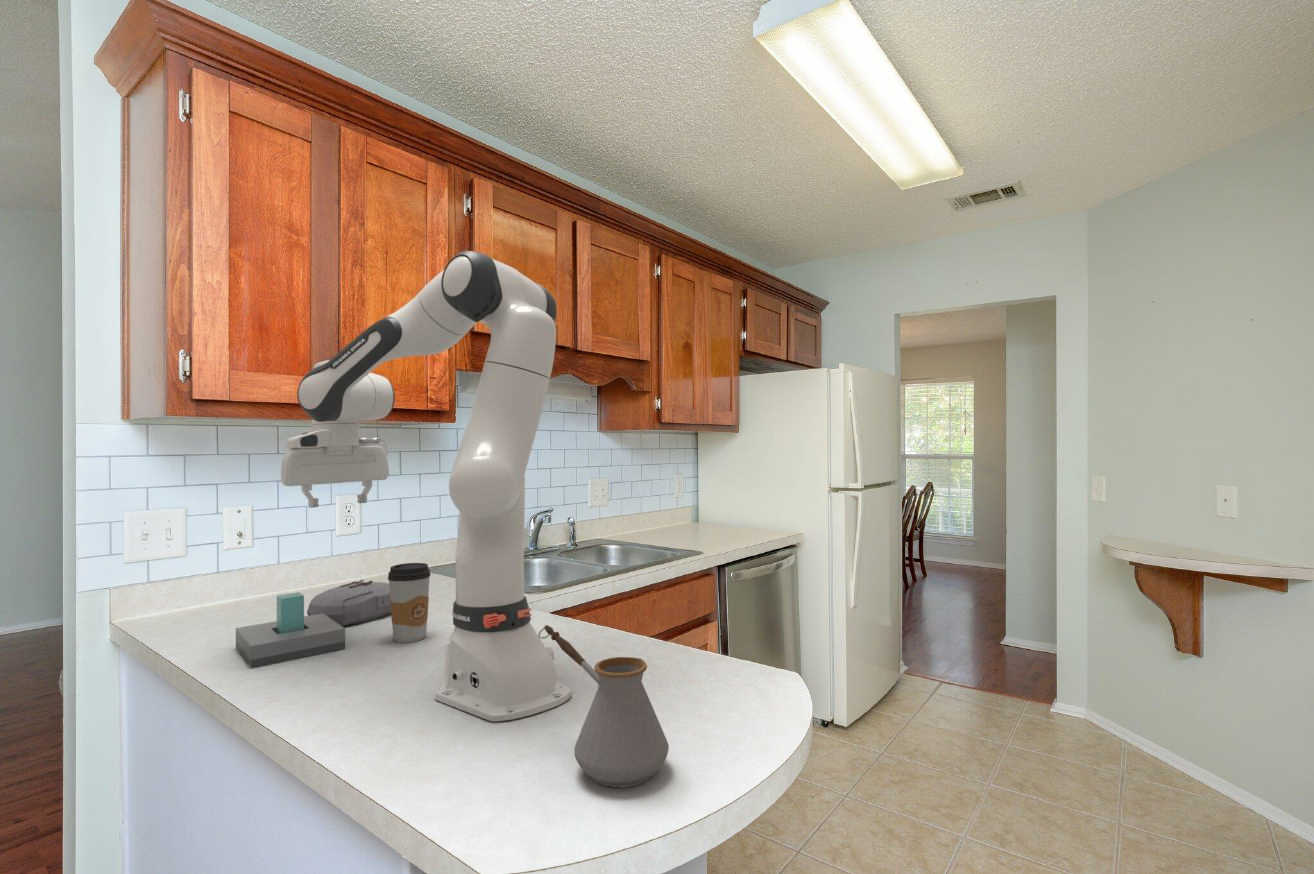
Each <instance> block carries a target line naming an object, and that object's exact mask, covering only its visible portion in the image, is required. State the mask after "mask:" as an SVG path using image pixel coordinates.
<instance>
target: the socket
mask: <svg viewBox="0 0 1314 874" xmlns="http://www.w3.org/2000/svg"><path fill="white" fill-rule="evenodd" d="M235 649H236V650H237V652H238V653H239V654H240V656H241V657H242V658H243V659H244V661H245V663H246V664H248V665H247V666H248V667H249V668H250V669H255V668H258V667H264V666H269V665H273V664H278V663H279V664H280V663H283V662H287V661H288V662H289V661H293V660H298V659H303V658H307V657H312V656H317V655H321V654H323V655H324V654H327V653H333V652H337V651H342V650H346V628H345V626H341V625H339V624H338V623H336V622H335V621H333V620H332V619H330V618H329V617H328V616H326V615H325V614H323V613H322V614H316V615H311V616H308V615H304V629H303V630H298V631H292V632H287V633H281V634H277V620H276V621H269V622H263V623H257V624H253V625H248V626H247V625H246V626H242V627H241V626H240V627H236V628H235Z"/></svg>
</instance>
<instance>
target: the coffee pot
mask: <svg viewBox="0 0 1314 874" xmlns="http://www.w3.org/2000/svg"><path fill="white" fill-rule="evenodd" d="M544 630H545V632H546V634H548V635H546V636H544V637H543V636H541V634H542V632H543V631H544ZM538 636H539V638H540V639H543V640H544V639H547V638H548V637H549V636H550V637H551V638H550V639H551V640H552V641H555V642H556V643H557V645H558V646H559V647H560V650H562V651H563V652H564V653H565V654H566V655H567V656H569V658H571V659H572V660H573V661H574V662H575V663H576V664H578V665H579V666H580V667H582V668H583V670H584V671H586V673H587V674H588V675H589V676H590V677H591V678H592V679H593V680H594V681H595V682H596V683H597V685H598V687H597V690H596V693H595V694H594V698H593V700H592V702H591V705H590V707H589V710H588V713H587V715H586V717H585V720H584V722H583V725H582V728H581V729H580V732H579V735H578V738H577V740H576V743H575V745H574V750H573V751H574V758H575V760H576V761H577V764H578V765H579V767H580V769H581V770H582V771H583V772H584V773H585V774H586V775H588V776H589V777H590V778H591V779H592V778H593V779H594V780H595V781H594V780H593V779H592V780H593V781H594V782H596V781H597V782H596V783H597V784H599V783H600V784H599V785H601V784H602V785H601V786H604V785H607V786H606V787H608V786H611V787H610V788H617V787H619V789H620V788H621V789H622V788H631V787H634V786H638V785H641V784H643V783H645V782H647V781H648V780H650V779H651V778H652V777H653V775H654V774H655V773H656V772H657V771H659V769H660V768H661V767H662V765H663V764H664V763H665V762H666V759H667V756H668V753H669V749H670V746H669V742H668V740H667V739H668V738H666V735H665V733H664V731H663V728H662V725H661V723H660V720H659V718H658V717H657V715H656V712H655V710H654V707H653V705H652V702H651V700H650V698H649V695H648V693H647V690H646V688H645V686H644V684H643V681H642V680H643V676H644V672H646V671H647V668H648V665H647V663H646V661H645V660H644V659H642V658H640V657H639V658H638V657H629V656H617V657H609V658H605V659H602V660H600V661H598V662H595V665H594V666H593V667H592V666H591V665H590V664H589V663H588V662H587V661H586V660H585V659H584V657H583V656H582V655H581V654H579V652H578V651H577V649H575V647H573V645H572V644H571V643H570V642H569V641H568V640H566V639H564V638H563V637H561V636H560V633H559V631H555V630H554V629H553V627H551V626H549V625H547V624H546V625H544V626H543V628H542V629H540V630H539V632H538ZM652 774H653V775H652ZM640 783H641V784H640Z"/></svg>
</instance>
